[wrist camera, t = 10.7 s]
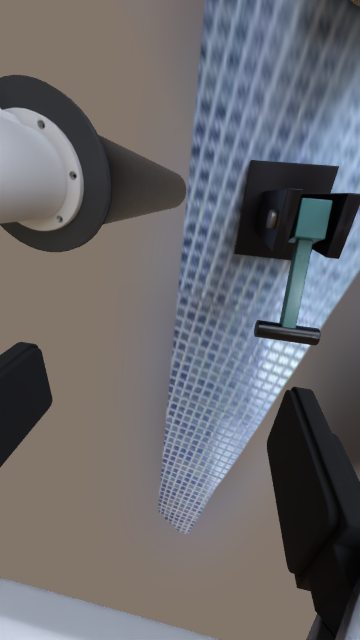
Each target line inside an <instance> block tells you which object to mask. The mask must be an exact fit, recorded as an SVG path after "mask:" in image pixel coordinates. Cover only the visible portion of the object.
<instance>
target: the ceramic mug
mask: <svg viewBox="0 0 360 640" xmlns="http://www.w3.org/2000/svg"><path fill="white" fill-rule="evenodd" d="M351 1H352V2H353V3H354V4H355V5H357V6H359V7H360V0H351Z"/></svg>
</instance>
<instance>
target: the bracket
mask: <svg viewBox="0 0 360 640" xmlns="http://www.w3.org/2000/svg"><path fill="white" fill-rule="evenodd" d="M338 168H339V166H326V165H312V164H298V163H284V162H269V161H255V160H251V161H250V165H249V171H248V176H247V182H246V188H245V193H244V199H243V205H242V210H241V216H240V221H239V227H238V233H237V238H236V244H235V249H234V254H241V255H250V256H259V257H268V258H277V259H286V260H292V255H293V249H294V244H295V243H292V242H288V241H289V237H290V234H291V230H292V227H293V223H294V219H295V216H296V212H297V208H298V205H299V201H300V200H301V199H302V198H310V199H321V200H332V201H333V202H332V206H331V211H330V216H329V221H328V226H327V230H326V235H325V239H324V240H321V241H319V242H316V243H314V244H312V249H313V250H315V251H316V252H318V253H320V254H321V255H323V256H325V257H327V258H336V259H339V258H340V255H341V252H342V250H343V247H344V245H345V242H346V239H347V237H348V234H349V232H350V229H351V226H352V224H353V221H354V218H355V216H356V213H357V211H358V208H359V205H360V194H355V193H331V190H332V187H333V184H334V180H335V177H336V174H337V171H338ZM312 249H311V251H312Z"/></svg>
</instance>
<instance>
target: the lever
mask: <svg viewBox="0 0 360 640" xmlns="http://www.w3.org/2000/svg"><path fill="white" fill-rule="evenodd" d="M332 202H333V201H332V200H321V199H310V198H302V199H301V200H300V201H299V205H298V208H297V212H296V216H295V219H294V223H293V227H292V230H291V234H290V237H289V241H288V242H292V243H295V244H294V249H293V255H292V260H291V265H290V270H289V276H288V281H287V286H286V291H285V297H284V302H283V307H282V312H281V318H280V323H275V322H267V321H260V320H257V322H256V324H255V329H254V335H255V337H261V338H268V339H275V340H282V341H289V342H295V343H302V344H309V345H317V344H318V343H319V340H320V330H319V329H317V328H311V327H304V326H296V323H297V318H298V313H299V308H300V303H301V298H302V293H303V288H304V283H305V278H306V273H307V268H308V264H309V259H310V254H311V249H312V244H314V243H316V242H319V241H321V240H324V239H325V235H326V230H327V226H328V221H329V216H330V211H331V206H332Z"/></svg>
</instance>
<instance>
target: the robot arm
mask: <svg viewBox="0 0 360 640" xmlns="http://www.w3.org/2000/svg"><path fill="white" fill-rule="evenodd" d="M75 175H76V177H75ZM83 193H84V180H83V174H82V168H81V165H80V162H79V159H78V156H77V154H76V152H75V150H74V148H73V146H72V144H71V143H70V141H69V140H68V138H67V137H66V135H65V134H64V133H63V132H62V131H61V130H60V129H59V128H58V127H57V126H56V125H55V124H54V123H53V122H51V121H50V120H49V119H47V118H46V117H44V116H42V115H40V114H38V113H36V112H34V111H31V110H28V109H25V108H9V109H5V110H2V109H1V108H0V224H2V223H10V222H19V223H20V224H22V225H24V226H26V227H28V228H30V229H34V230H38V231H51V230H56V229H59V228H63V227H64V226H66V225H67V224H69V223H70V222H71V221H72V220H73V219H74V218H75V216H76V215H77V213H78V211H79V209H80V206H81V203H82V200H83ZM51 403H52V395H51V391H50V386H49V382H48V377H47V373H46V369H45V364H44V360H43V356H42V352H41V350H40V349H39V348H38V346H37V345H36V344H31V343H25V342H19V343H17V344H15V345H14V346H13V347H11V348H10V349H8V350H7V351H6V352H4V353H3V354H1V355H0V467H1V466H2V465H3V463H4V462H5V461H6V460H7V458H8V457H9V456H10V455H11V454H12V452H13V451H14V450H15V449H16V448H17V446H18V445H19V444H20V443H21V442H22V440H23V439H24V438H25V436H26V435H27V434H28V433H29V432H30V431H31V429H32V428H33V427H34V426H35V424H36V423H37V422H38V421H39V420H40V419H41V417H42V416H43V415H44V414H45V412H46V411H47V410H48V409H49V407H50V406H51ZM267 452H268V457H269V463H270V469H271V475H272V481H273V487H274V492H275V498H276V504H277V510H278V516H279V521H280V527H281V533H282V539H283V544H284V551H285V557H286V562H287V566H288V569H289V571H290V572H291V573H294V574H295V579H296V585H297V588H299V589H304V590H308V591H311V594H312V599H313V603H314V607H315V611H316V612H317V615H316V618H315V620H314V622H313V625H312V627H311V630H310V632H309V634H308V637H307V639H306V640H360V481H359V479H358V478H357V475H356V473H355V471H354V469H353V467H352V465H351V463H350V461H349V458H348V456H347V454H346V452H345V450H344V448H343V446H342V444H341V442H340V440H339V438H338V437H337V436H336V435H335V434H332V432H331V430H330V428H329V426H328V423H327V421H326V419H325V417H324V415H323V412H322V411H321V408H320V406H319V404H318V401H317V399H316V397H315V395H314V393H313V391H312V390H310V389H304V388H298V387H293V388H292V389H291V390H287V391H286V392H285V394H284V397H283V400H282V403H281V405H280V408H279V410H278V413H277V416H276V418H275V421H274V424H273V427H272V429H271V432H270V434H269V437H268V441H267ZM0 640H220V639H216V638H213V637H209V636H205V635H202V634H199V633H195V632H192V631H188V630H185V629H181V628H178V627H174V626H171V625H167V624H164V623H160V622H157V621H153V620H150V619H146V618H143V617H139V616H136V615H132V614H128V613H125V612H122V611H118V610H115V609H111V608H108V607H104V606H101V605H97V604H94V603H90V602H87V601H83V600H79V599H76V598H72V597H69V596H65V595H61V594H58V593H54V592H51V591H47V590H44V589H40V588H37V587H33V586H29V585H26V584H22V583H18V582H15V581H11V580H8V579H4V578H1V577H0Z"/></svg>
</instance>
